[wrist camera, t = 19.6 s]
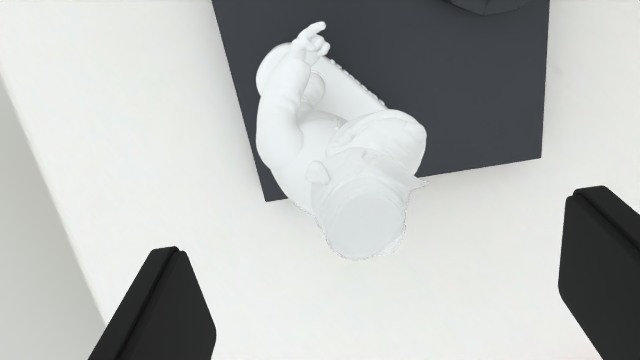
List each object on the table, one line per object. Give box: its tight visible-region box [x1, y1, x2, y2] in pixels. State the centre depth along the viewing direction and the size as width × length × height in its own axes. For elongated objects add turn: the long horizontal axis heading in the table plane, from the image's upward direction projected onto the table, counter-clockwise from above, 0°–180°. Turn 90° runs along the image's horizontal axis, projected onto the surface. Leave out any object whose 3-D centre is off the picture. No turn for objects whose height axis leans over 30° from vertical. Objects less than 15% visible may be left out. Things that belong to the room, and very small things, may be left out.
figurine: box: [256, 21, 429, 260], centre depth 18 cm, size 9×7×12 cm
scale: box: [212, 0, 550, 202], centre depth 22 cm, size 16×14×4 cm
